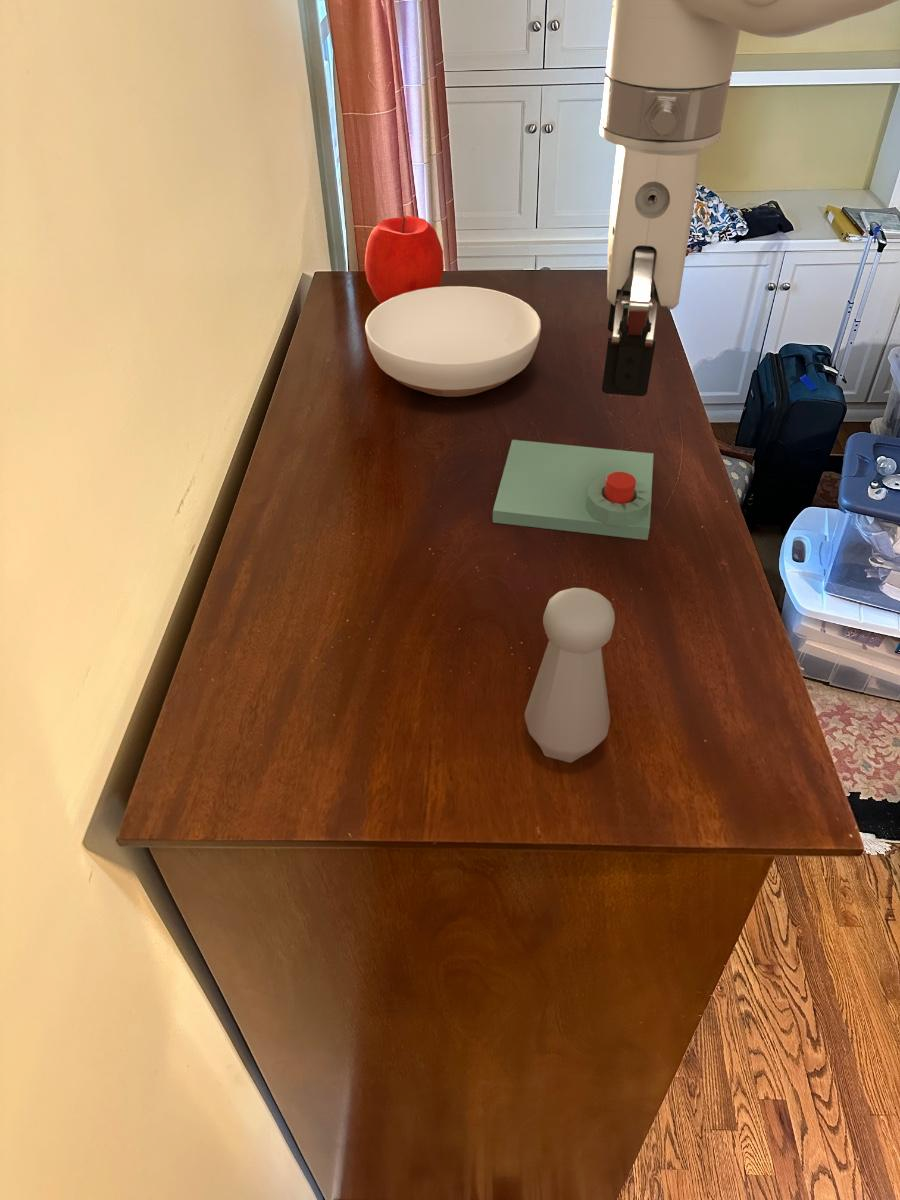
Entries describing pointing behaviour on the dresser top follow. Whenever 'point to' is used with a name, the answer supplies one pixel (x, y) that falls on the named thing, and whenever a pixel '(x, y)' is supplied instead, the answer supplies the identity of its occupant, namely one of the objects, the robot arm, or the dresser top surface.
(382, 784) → the dresser top surface
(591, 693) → the salt shaker
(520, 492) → the green flat block
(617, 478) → the button
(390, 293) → the apple
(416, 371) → the bowl
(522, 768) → the dresser top surface
